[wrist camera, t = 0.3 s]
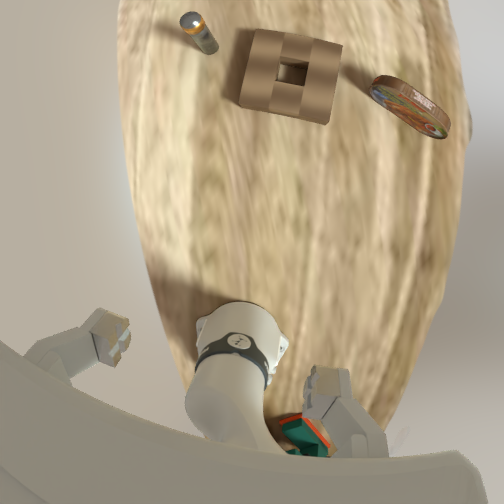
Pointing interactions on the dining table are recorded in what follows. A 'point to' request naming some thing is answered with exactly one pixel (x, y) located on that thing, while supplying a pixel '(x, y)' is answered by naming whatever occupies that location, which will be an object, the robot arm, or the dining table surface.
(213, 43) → the grey upright cylinder
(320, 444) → the power tool
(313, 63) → the brown square frame
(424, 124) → the tin
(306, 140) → the dining table surface
